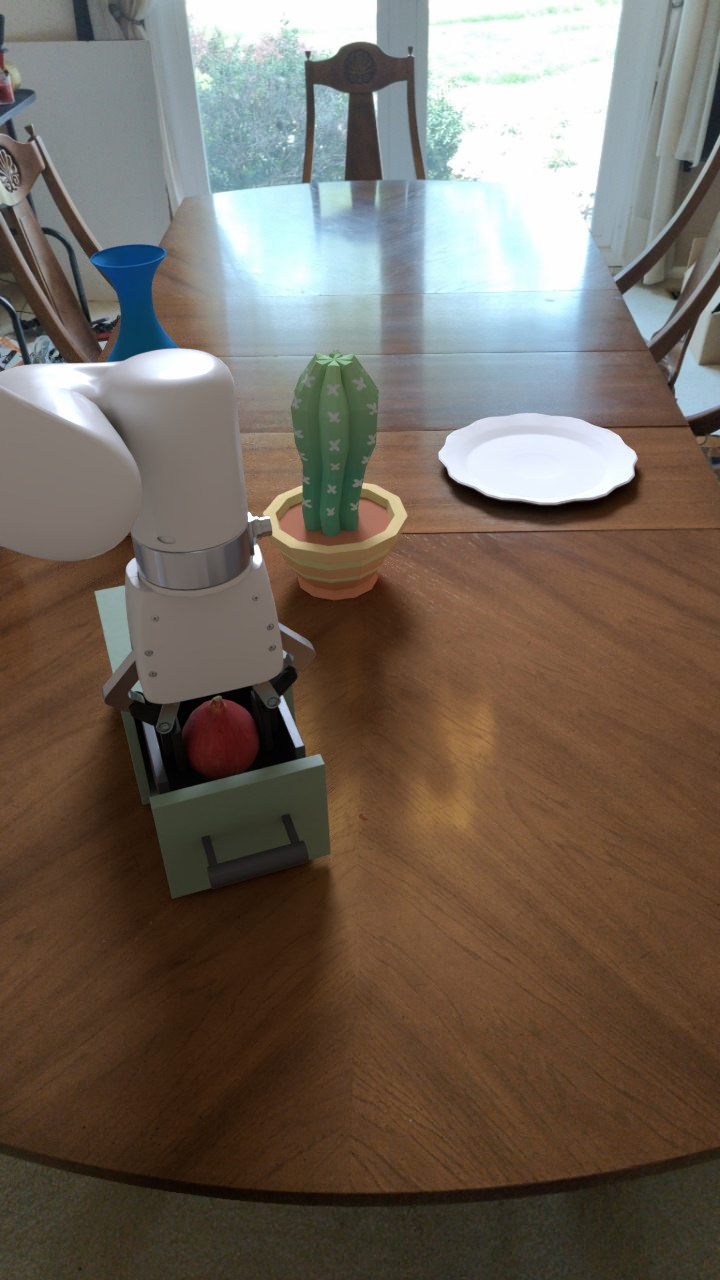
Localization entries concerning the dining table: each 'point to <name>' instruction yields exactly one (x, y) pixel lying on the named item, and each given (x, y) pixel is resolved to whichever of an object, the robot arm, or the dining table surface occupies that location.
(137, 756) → the cabinet
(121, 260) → the vase
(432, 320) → the dining table surface
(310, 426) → the potted cactus
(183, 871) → the drawer
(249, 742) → the onion
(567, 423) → the plate
